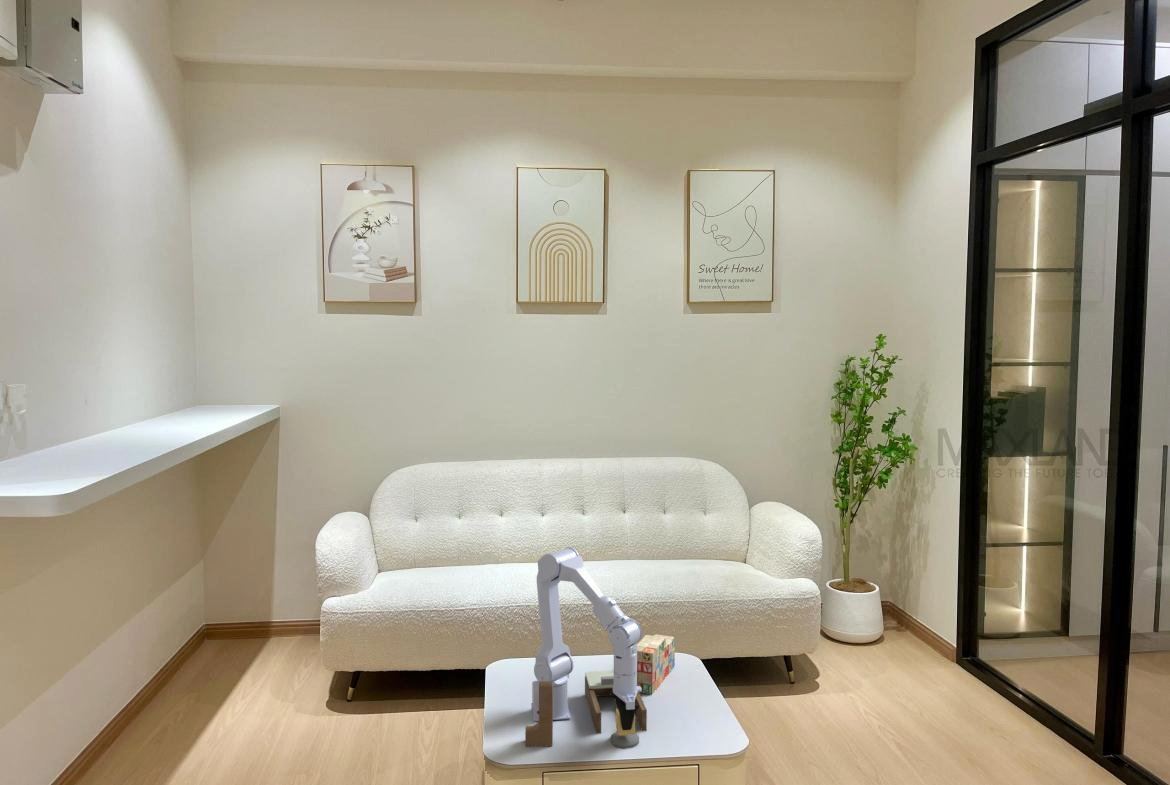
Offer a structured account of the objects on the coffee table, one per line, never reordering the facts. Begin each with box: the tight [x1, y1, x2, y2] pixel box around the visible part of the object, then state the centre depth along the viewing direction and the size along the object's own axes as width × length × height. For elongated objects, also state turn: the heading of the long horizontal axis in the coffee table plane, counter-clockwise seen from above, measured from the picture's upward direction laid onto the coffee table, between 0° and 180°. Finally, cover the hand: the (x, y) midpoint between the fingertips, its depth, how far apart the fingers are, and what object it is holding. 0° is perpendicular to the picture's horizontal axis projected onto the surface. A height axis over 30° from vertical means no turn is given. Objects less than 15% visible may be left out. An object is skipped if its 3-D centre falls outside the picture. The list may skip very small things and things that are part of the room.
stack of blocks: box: [637, 634, 676, 696], centre depth 233 cm, size 21×6×12 cm, turn 157°
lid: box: [584, 669, 614, 689], centre depth 219 cm, size 13×9×2 cm
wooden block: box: [524, 681, 554, 747], centre depth 195 cm, size 7×3×15 cm, turn 91°
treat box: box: [584, 676, 648, 734], centre depth 212 cm, size 13×22×5 cm, turn 8°
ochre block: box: [615, 707, 636, 735], centre depth 197 cm, size 4×4×5 cm
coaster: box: [610, 731, 640, 749], centre depth 197 cm, size 7×7×1 cm
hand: (624, 724), depth 197 cm, fingers closed on ochre block, 4 cm apart
